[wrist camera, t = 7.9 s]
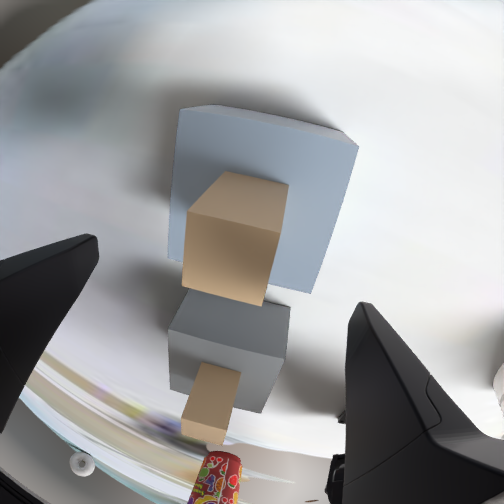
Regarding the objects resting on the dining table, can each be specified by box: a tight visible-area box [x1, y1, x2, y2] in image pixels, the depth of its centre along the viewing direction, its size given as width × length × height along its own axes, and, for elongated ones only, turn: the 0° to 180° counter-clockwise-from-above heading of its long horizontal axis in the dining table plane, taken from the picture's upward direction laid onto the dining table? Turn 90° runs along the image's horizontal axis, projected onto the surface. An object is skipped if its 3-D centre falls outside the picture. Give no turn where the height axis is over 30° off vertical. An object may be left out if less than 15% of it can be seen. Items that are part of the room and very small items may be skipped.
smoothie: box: [187, 451, 242, 504], centre depth 35 cm, size 8×8×20 cm
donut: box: [70, 452, 95, 476], centre depth 68 cm, size 10×3×10 cm, turn 90°
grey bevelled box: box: [168, 288, 290, 445], centre depth 22 cm, size 8×8×10 cm
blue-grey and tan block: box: [168, 104, 359, 307], centre depth 14 cm, size 8×8×10 cm
